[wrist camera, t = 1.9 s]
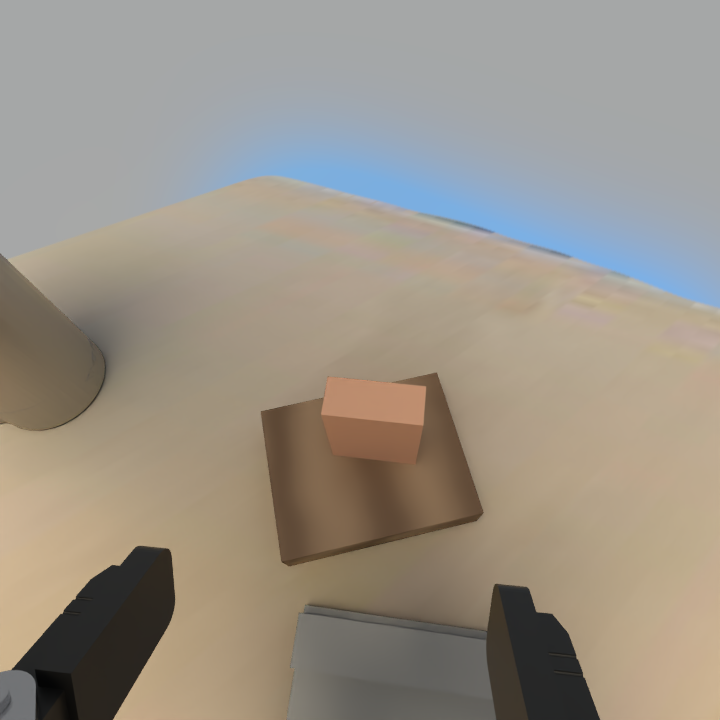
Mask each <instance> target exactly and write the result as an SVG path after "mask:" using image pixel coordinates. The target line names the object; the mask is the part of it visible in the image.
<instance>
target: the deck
mask: <svg viewBox="0 0 720 720" xmlns="http://www.w3.org/2000/svg"><path fill="white" fill-rule="evenodd" d="M392 383H398V384H408V385H418V386H426V397H425V410H424V424H423V430H422V435H421V440H420V445H419V449H418V454H417V459H416V464H406V463H398V462H389V461H380V460H371V459H363V458H354V457H345V456H337V455H333V453H332V450H331V446H330V443H329V440H328V437H327V433H326V430H325V427H324V423H323V420H322V417H321V411H322V405H323V400H324V398H320V399H315V400H311V401H306V402H302V403H297V404H293V405H288V406H284V407H279V408H275V409H270V410H266V411H261V416H262V424H263V431H264V438H265V446H266V453H267V460H268V467H269V475H270V482H271V489H272V496H273V504H274V511H275V518H276V525H277V533H278V540H279V547H280V555H281V562H283V563H284V564H286V565H288V566H292V565H296V564H300V563H305V562H309V561H313V560H317V559H321V558H325V557H329V556H333V555H337V554H342V553H346V552H350V551H354V550H358V549H362V548H366V547H370V546H374V545H379V544H383V543H387V542H391V541H395V540H399V539H403V538H407V537H412V536H416V535H420V534H424V533H428V532H432V531H436V530H440V529H444V528H449V527H453V526H457V525H461V524H465V523H469V522H473V521H477V519H478V518H479V517H480V516H481V515H482V514H483V510H482V507H481V504H480V501H479V498H478V495H477V492H476V489H475V486H474V483H473V480H472V477H471V474H470V471H469V468H468V465H467V462H466V459H465V456H464V453H463V450H462V447H461V444H460V441H459V438H458V435H457V432H456V429H455V426H454V423H453V420H452V417H451V414H450V411H449V408H448V405H447V402H446V399H445V396H444V393H443V390H442V387H441V384H440V381H439V378H438V375H437V373H433V374H428V375H424V376H419V377H415V378H410V379H406V380H401V381H397V382H392Z"/></svg>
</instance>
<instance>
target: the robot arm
mask: <svg viewBox="0 0 720 720" xmlns="http://www.w3.org/2000/svg"><path fill="white" fill-rule="evenodd" d="M104 374H105V363H104V358H103V356H102V353H101V351H100V350H99V349H98V347H97V346H96V345H95V344H94V343H93V342H92V341H91V340H90V339H89V338H88V337H87V336H86V335H85V334H84V333H83V332H82V331H81V330H80V329H78V328H77V327H76V326H75V325H74V324H73V323H72V322H71V321H70V320H69V319H68V318H67V317H66V316H65V315H64V314H63V313H62V312H61V311H60V310H59V309H58V308H57V307H56V306H55V305H54V304H53V303H52V302H51V301H50V300H48V299H47V298H46V297H45V296H44V295H43V294H42V293H41V292H40V291H39V290H38V289H37V288H36V287H35V286H34V285H33V284H32V283H31V282H30V281H29V280H28V279H27V278H25V277H24V276H23V275H22V274H21V273H20V272H19V271H18V270H17V269H16V268H15V267H14V266H13V265H12V264H11V263H10V262H9V261H8V260H7V259H6V258H4V257H3V256H2V255H1V254H0V423H5V422H8V423H10V424H13V425H15V426H17V427H19V428H22V429H27V430H44V429H49V428H54V427H56V426H59V425H61V424H64V423H66V422H68V421H69V420H71V419H73V418H74V417H76V416H77V415H78V414H80V413H81V412H82V411H83V410H84V409H86V408H87V406H88V405H89V404H90V403H91V402H92V401H93V400H94V398H95V396H96V395H97V393H98V392H99V390H100V388H101V385H102V382H103V380H104ZM174 606H175V590H174V579H173V567H172V556H171V552H170V550H169V549H166V548H156V547H147V546H137V547H136V548H135V549H134V550H133V551H132V552H131V553H130V554H129V556H128V557H127V558H126V559H125V560H124V562H123V563H122V564H121V565H120V566H116V565H112V566H110V567H109V568H107V569H106V570H104V571H103V572H101V573H100V574H98V575H97V576H95V577H94V578H92V579H91V580H90V581H89V582H88V583H87V584H86V586H85V587H84V588H83V589H82V590H81V591H80V592H79V594H78V595H77V596H76V599H75V600H72V602H71V603H70V604H69V605H68V606H67V607H66V608H65V610H64V612H63V614H60V615H59V616H58V618H57V619H56V620H55V621H54V622H53V623H52V624H51V625H50V627H49V628H48V629H47V630H46V631H45V632H44V633H43V635H42V636H41V637H40V638H39V639H38V640H37V641H36V643H35V644H34V645H33V646H32V647H31V648H30V649H29V651H28V652H27V653H26V654H25V655H24V656H23V657H22V659H21V660H20V661H19V662H18V663H17V664H16V665H15V667H14V668H13V669H12V670H9V671H4V672H0V720H113V718H114V717H115V715H116V713H117V712H118V710H119V708H120V707H121V705H122V703H123V701H124V700H125V698H126V696H127V695H128V693H129V691H130V690H131V688H132V686H133V685H134V683H135V681H136V680H137V678H138V676H139V674H140V673H141V671H142V669H143V668H144V666H145V664H146V663H147V661H148V659H149V658H150V656H151V654H152V653H153V651H154V649H155V647H156V646H157V644H158V642H159V641H160V639H161V637H162V636H163V634H164V632H165V631H166V629H167V627H168V625H169V623H170V621H171V618H172V615H173V611H174ZM486 656H487V666H488V672H489V678H490V684H491V690H492V697H493V703H494V709H495V715H496V720H600V718H599V716H598V713H597V710H596V707H595V705H594V702H593V699H592V697H591V694H590V691H589V688H588V686H587V683H586V680H585V678H583V672H582V669H581V667H580V664H579V661H578V659H576V653H575V650H574V648H573V645H572V642H571V640H570V637H569V634H568V633H567V631H566V630H565V629H564V628H563V627H562V625H561V624H560V623H559V622H558V620H557V619H556V618H555V617H554V616H553V614H548V613H538V612H536V610H535V607H534V604H533V600H532V597H531V594H530V591H529V589H528V588H527V587H520V586H511V585H501V584H495V585H494V589H493V595H492V602H491V609H490V616H489V623H488V630H487V638H486Z"/></svg>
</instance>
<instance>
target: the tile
mask: <svg viewBox="0 0 720 720" xmlns="http://www.w3.org/2000/svg"><path fill="white" fill-rule="evenodd" d="M425 397H426V386H418V385H408V384H398V383H388V382H378V381H368V380H358V379H348V378H337V377H327V383H326V389H325V394H324V400H323V405H322V411H321V417H322V420H323V423H324V427H325V430H326V433H327V437H328V440H329V443H330V446H331V450H332V453H333V455H337V456H345V457H354V458H363V459H371V460H380V461H389V462H398V463H406V464H416V459H417V454H418V449H419V445H420V440H421V435H422V430H423V424H424V410H425Z"/></svg>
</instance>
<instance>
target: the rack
mask: <svg viewBox="0 0 720 720" xmlns="http://www.w3.org/2000/svg"><path fill="white" fill-rule="evenodd" d="M486 638H487V631H481V630H474V629H467V628H460V627H453V626H446V625H439V624H433V623H426V622H419V621H412V620H405V619H398V618H391V617H384V616H378V615H371V614H364V613H357V612H350V611H343V610H336V609H329V608H323V607H316V606H309V605H305V608H304V613H299V616H298V622H297V628H296V635H295V641H294V647H293V653H292V659H291V665H290V668H295V669H294V675H293V682H292V688H291V694H290V700H289V706H288V712H287V718H286V720H496V715H495V709H494V703H493V697H492V690H491V684H490V678H489V672H488V666H487V656H486Z"/></svg>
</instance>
